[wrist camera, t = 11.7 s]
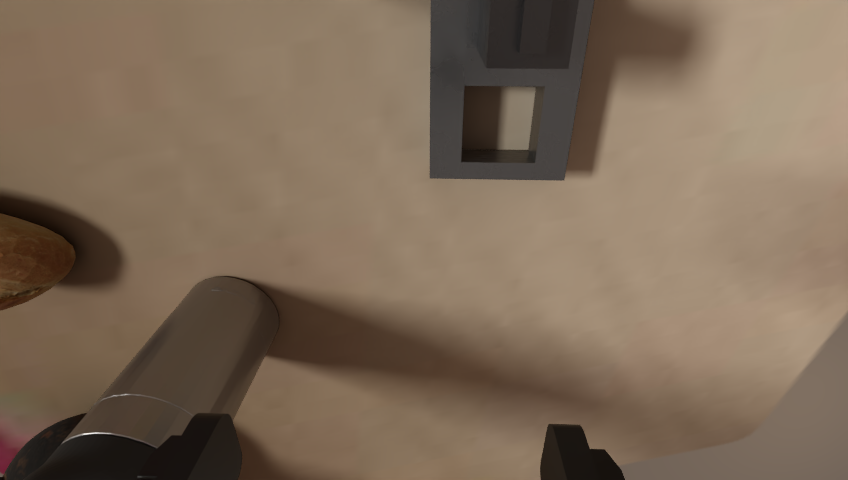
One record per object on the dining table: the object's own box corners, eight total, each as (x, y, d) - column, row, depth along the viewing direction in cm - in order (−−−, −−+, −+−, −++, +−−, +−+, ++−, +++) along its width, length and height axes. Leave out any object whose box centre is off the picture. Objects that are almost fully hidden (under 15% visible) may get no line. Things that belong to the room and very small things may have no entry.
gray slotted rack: (555, 166, 35) (600, 240, 25) (431, 164, 36) (424, 236, 25) (613, -210, 25) (736, -356, 14) (433, -207, 25) (424, -347, 15)
